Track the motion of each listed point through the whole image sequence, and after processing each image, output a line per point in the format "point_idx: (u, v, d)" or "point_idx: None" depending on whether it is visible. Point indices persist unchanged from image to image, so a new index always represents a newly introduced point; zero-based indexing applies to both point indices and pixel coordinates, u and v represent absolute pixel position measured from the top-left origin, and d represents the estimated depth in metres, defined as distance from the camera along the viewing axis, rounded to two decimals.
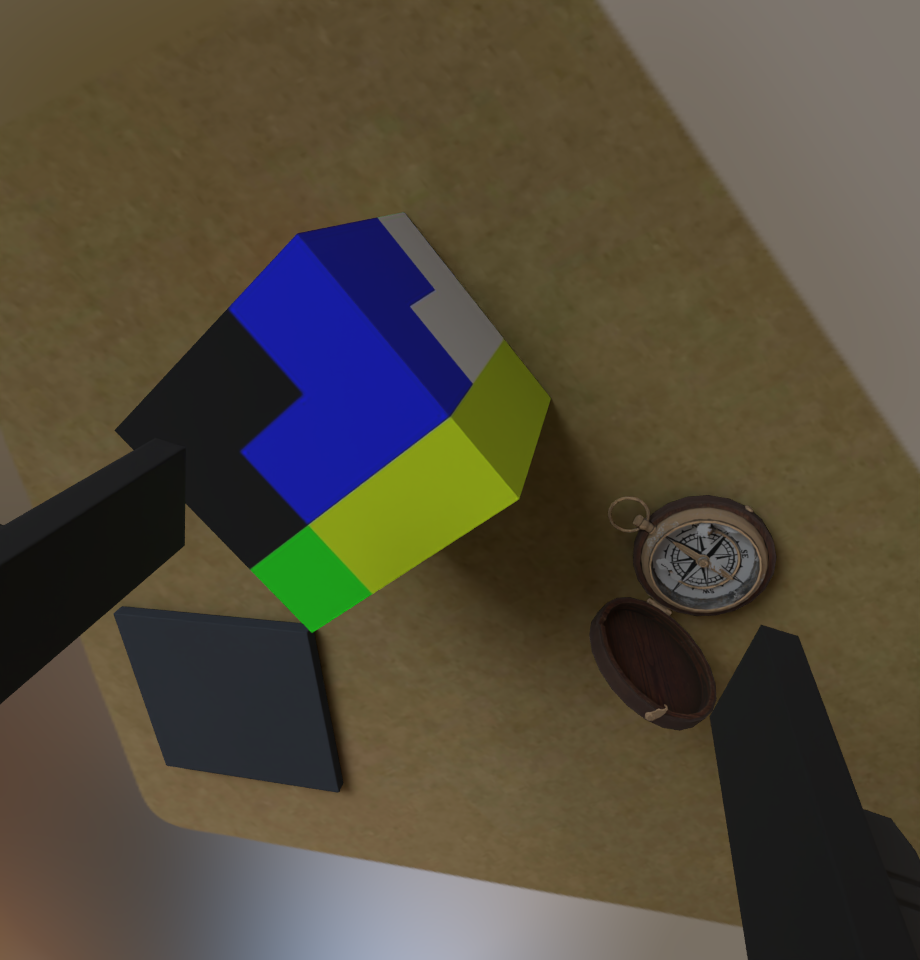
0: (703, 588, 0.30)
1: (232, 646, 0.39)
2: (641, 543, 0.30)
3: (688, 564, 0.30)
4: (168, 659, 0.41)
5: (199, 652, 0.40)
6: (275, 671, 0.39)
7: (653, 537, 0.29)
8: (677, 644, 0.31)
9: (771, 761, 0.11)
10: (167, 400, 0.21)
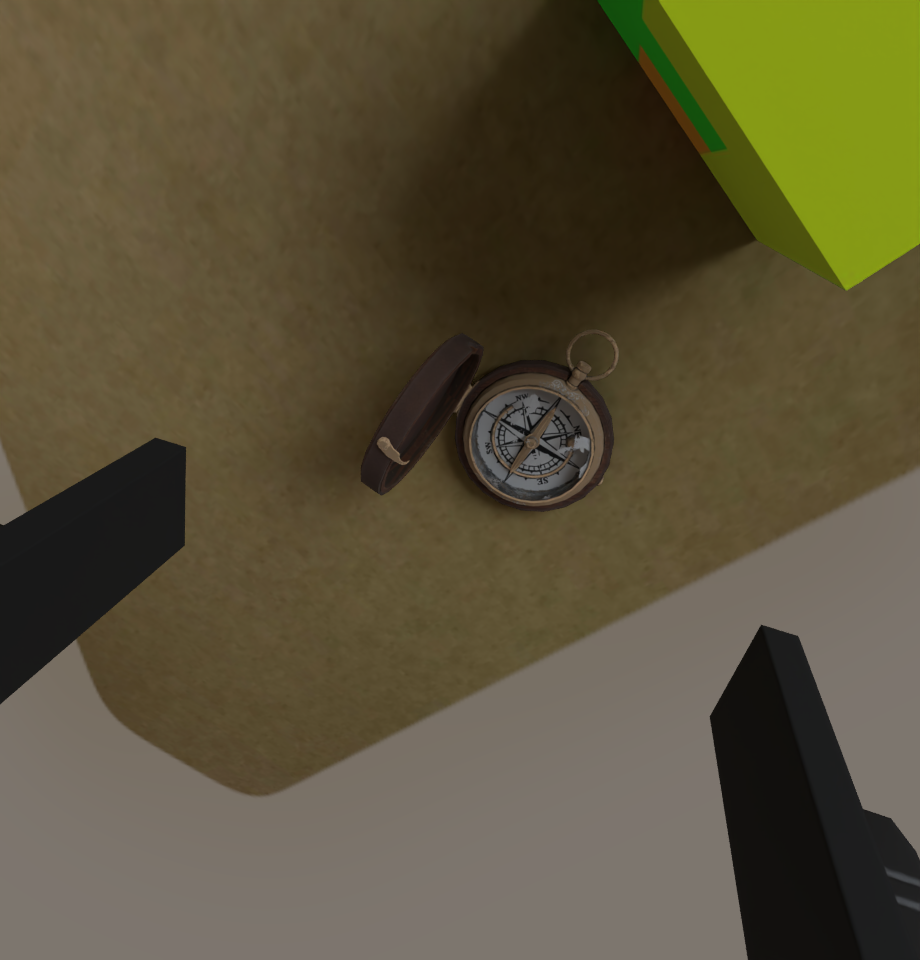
0: (492, 443, 0.26)
1: None
2: (551, 372, 0.24)
3: (522, 425, 0.25)
4: None
5: None
6: None
7: (564, 388, 0.24)
8: (422, 427, 0.25)
9: (770, 760, 0.11)
10: None
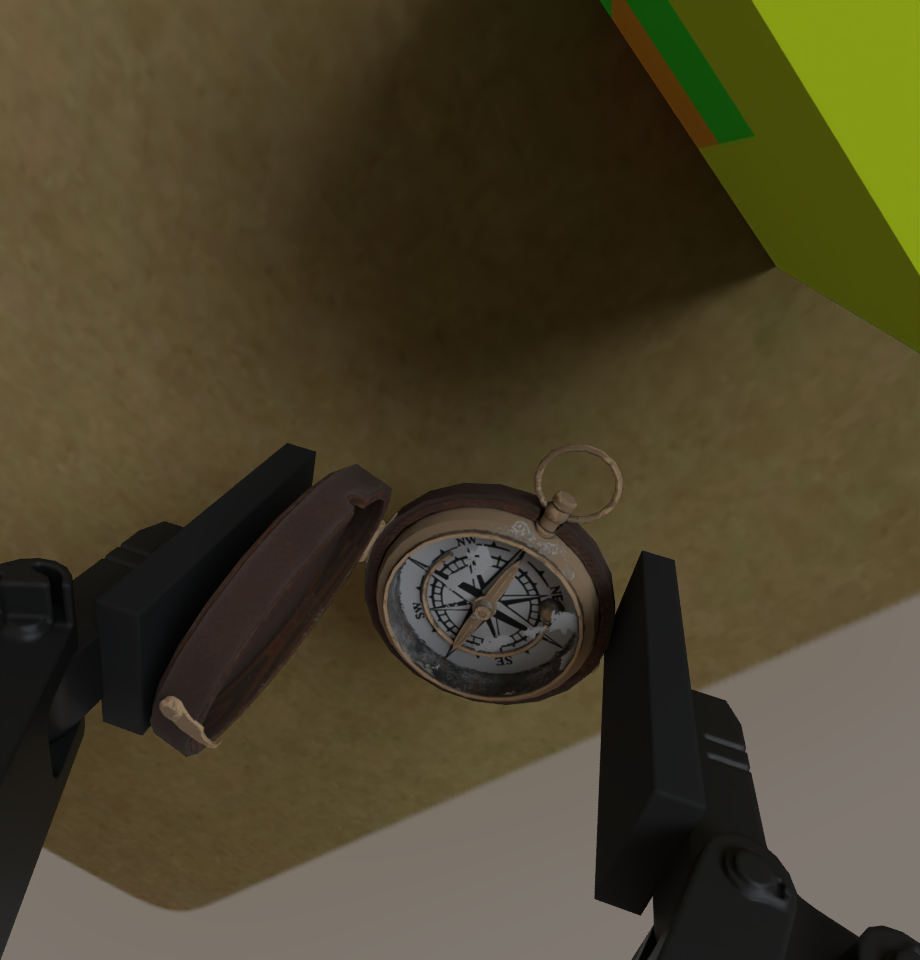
0: (423, 606, 0.16)
1: None
2: (510, 508, 0.14)
3: (469, 581, 0.16)
4: None
5: None
6: None
7: (533, 535, 0.14)
8: (305, 589, 0.15)
9: (631, 657, 0.13)
10: None
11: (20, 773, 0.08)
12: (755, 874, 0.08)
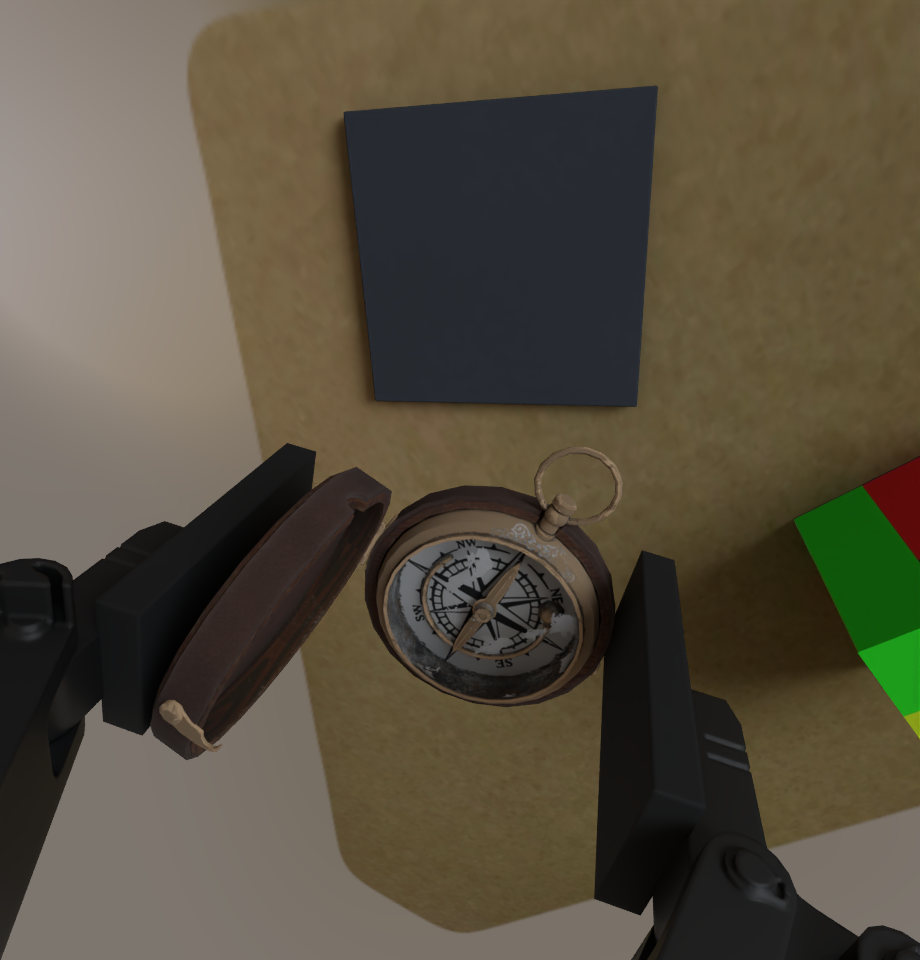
0: (423, 608, 0.16)
1: (606, 295, 0.29)
2: (510, 511, 0.14)
3: (469, 583, 0.16)
4: (572, 176, 0.27)
5: (590, 237, 0.28)
6: (569, 352, 0.30)
7: (533, 538, 0.14)
8: (305, 592, 0.15)
9: (631, 657, 0.13)
10: None
11: (20, 773, 0.08)
12: (755, 874, 0.08)
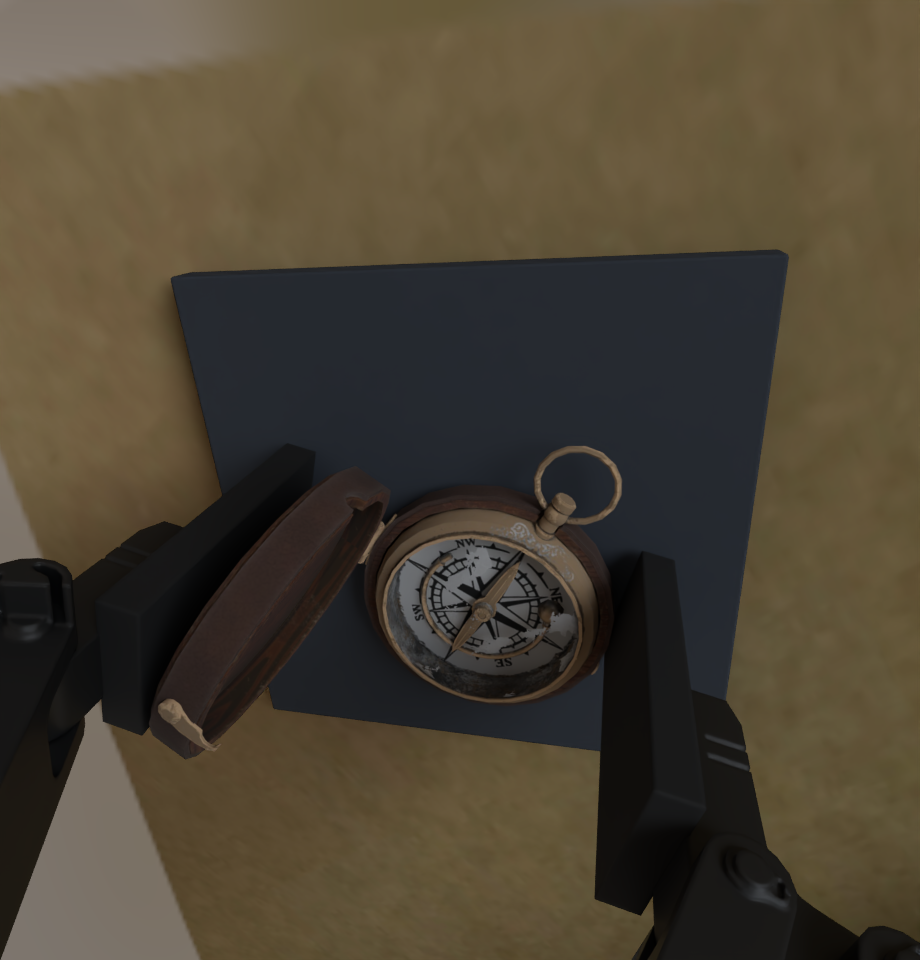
0: (423, 608, 0.16)
1: None
2: (510, 510, 0.14)
3: (469, 582, 0.16)
4: (605, 408, 0.14)
5: (638, 510, 0.15)
6: (598, 679, 0.17)
7: (532, 537, 0.14)
8: (305, 591, 0.15)
9: (631, 657, 0.13)
10: None
11: (20, 773, 0.08)
12: (755, 874, 0.08)
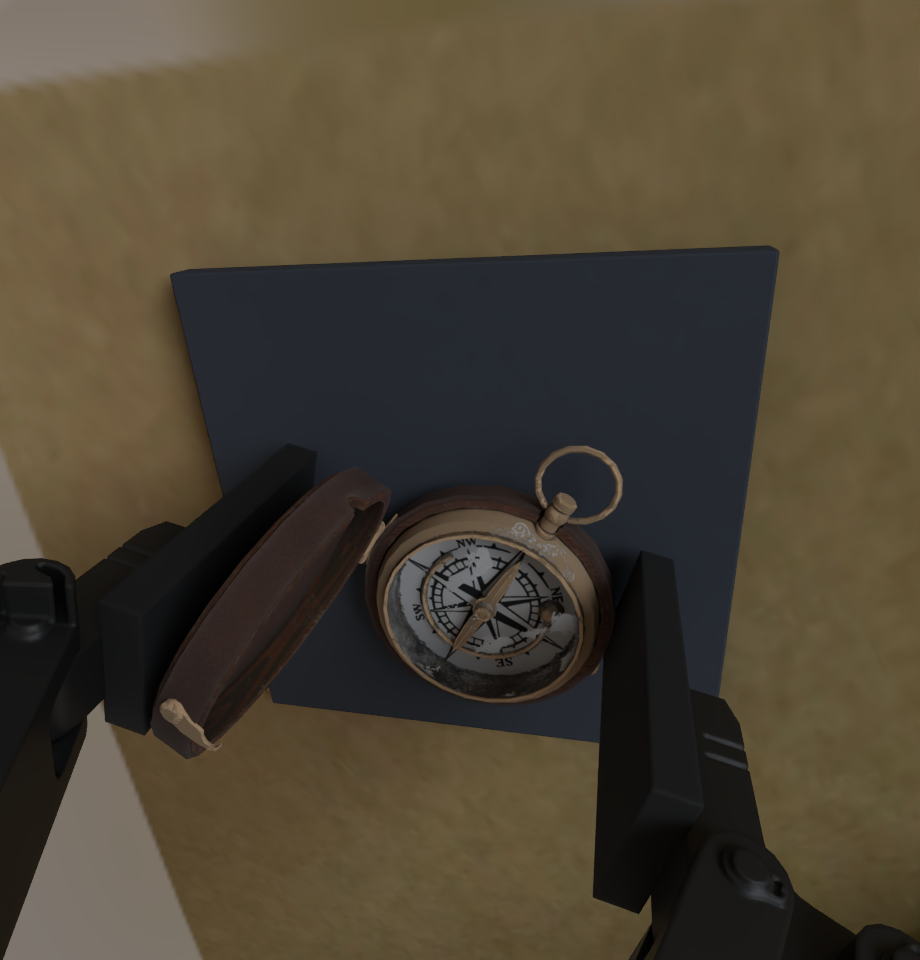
0: (423, 607, 0.16)
1: None
2: (510, 510, 0.14)
3: (469, 582, 0.16)
4: (599, 402, 0.14)
5: (633, 504, 0.15)
6: None
7: (533, 537, 0.14)
8: (305, 591, 0.15)
9: (630, 656, 0.13)
10: None
11: (22, 773, 0.08)
12: (752, 872, 0.08)
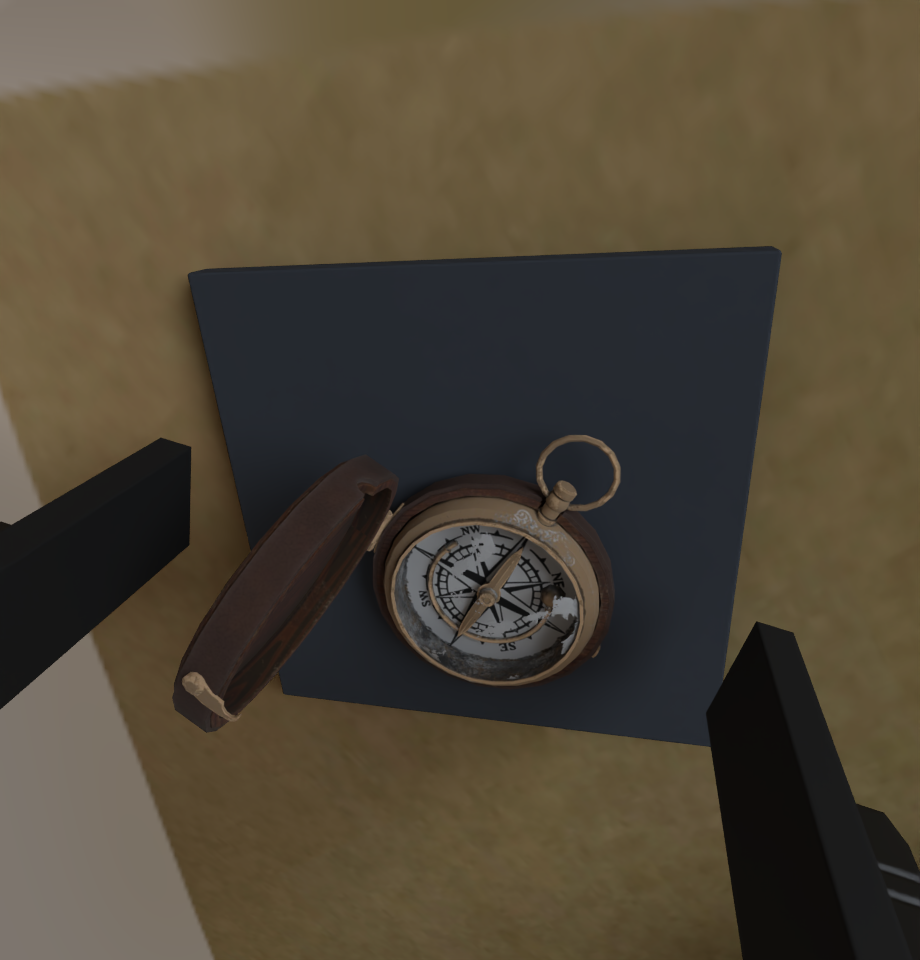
0: (429, 593, 0.17)
1: (666, 587, 0.16)
2: (513, 497, 0.15)
3: (474, 569, 0.16)
4: (606, 399, 0.14)
5: (638, 498, 0.15)
6: (599, 662, 0.18)
7: (534, 523, 0.15)
8: (316, 577, 0.16)
9: (766, 756, 0.11)
10: None
11: None
12: None
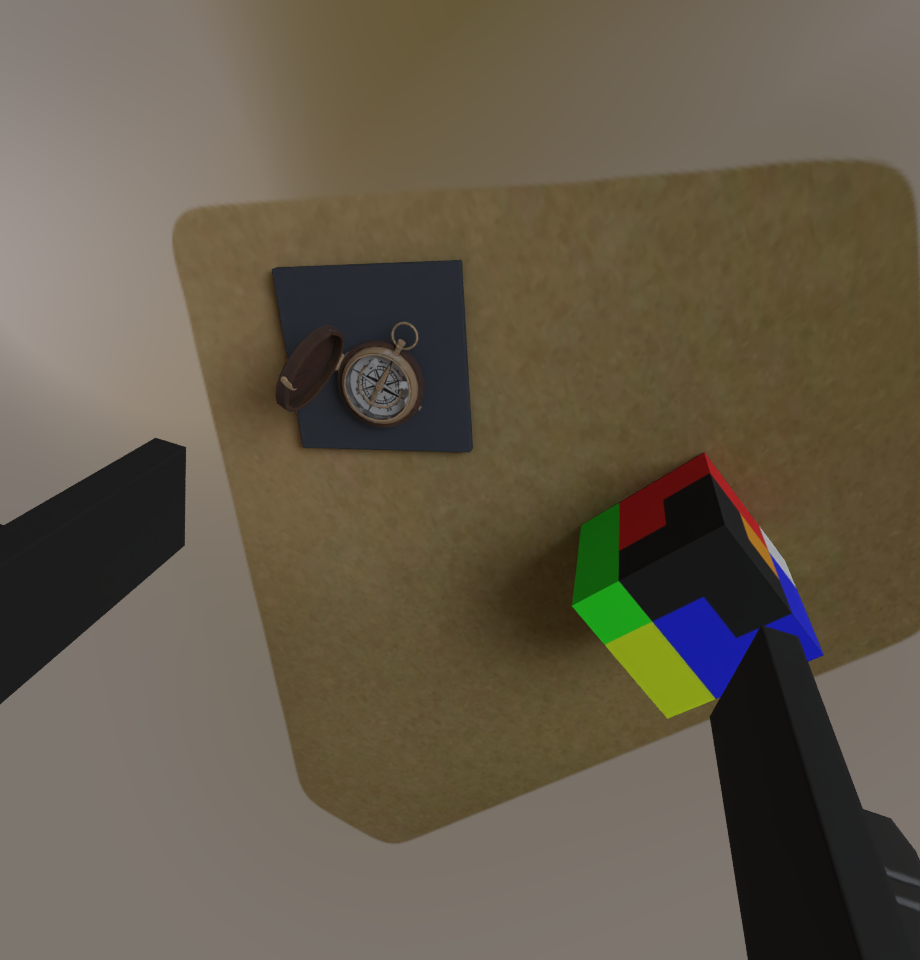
0: (359, 388, 0.45)
1: (443, 382, 0.45)
2: (384, 346, 0.43)
3: (374, 376, 0.45)
4: (414, 311, 0.43)
5: (429, 347, 0.44)
6: (425, 417, 0.46)
7: (391, 354, 0.43)
8: (317, 378, 0.44)
9: (771, 761, 0.11)
10: (741, 564, 0.35)
11: None
12: None
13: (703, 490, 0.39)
